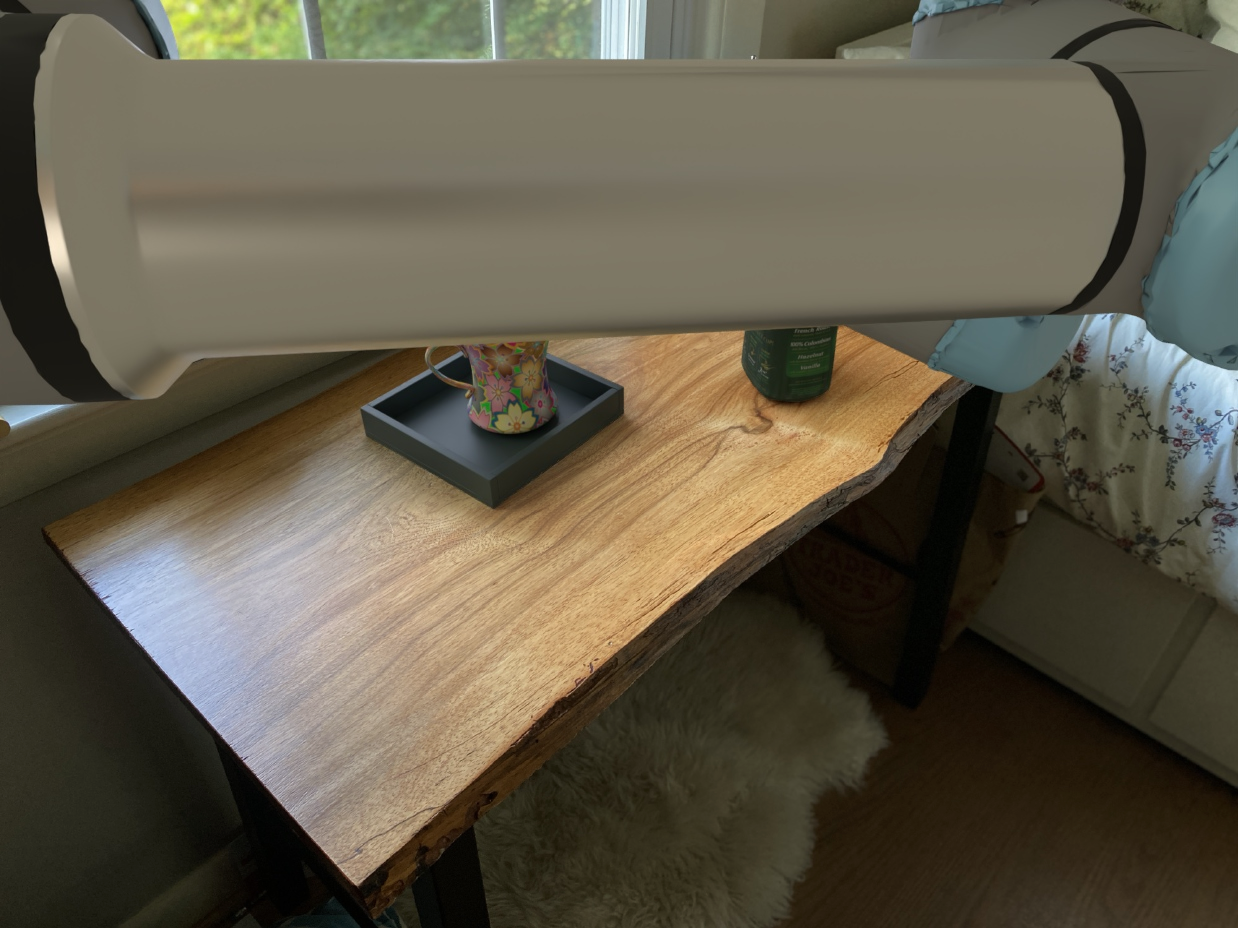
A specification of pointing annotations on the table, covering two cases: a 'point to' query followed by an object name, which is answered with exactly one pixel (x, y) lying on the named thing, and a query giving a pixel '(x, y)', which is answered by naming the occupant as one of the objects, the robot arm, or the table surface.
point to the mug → (506, 385)
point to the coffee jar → (790, 361)
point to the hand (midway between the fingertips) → (545, 128)
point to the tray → (477, 458)
